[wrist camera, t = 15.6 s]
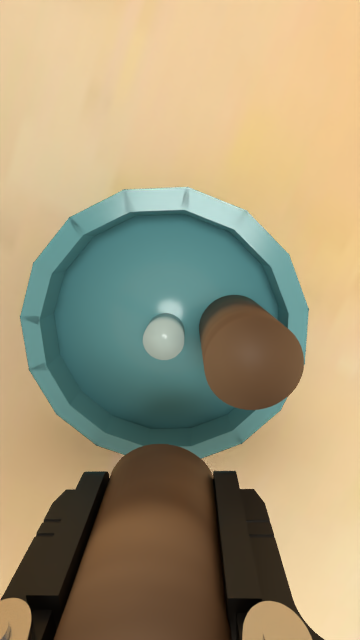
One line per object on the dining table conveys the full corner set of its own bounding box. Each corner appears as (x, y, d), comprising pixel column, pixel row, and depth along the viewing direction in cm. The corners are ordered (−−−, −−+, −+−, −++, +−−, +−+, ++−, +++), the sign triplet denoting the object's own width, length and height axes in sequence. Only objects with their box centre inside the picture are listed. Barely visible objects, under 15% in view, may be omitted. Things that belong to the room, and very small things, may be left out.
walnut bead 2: (199, 361, 16) (205, 411, 11) (198, 296, 15) (203, 319, 10) (266, 359, 16) (301, 409, 11) (268, 293, 15) (307, 315, 10)
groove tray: (-2, 331, 17) (-33, 345, 14) (157, 134, 14) (151, 112, 12) (173, 472, 19) (171, 504, 16) (341, 322, 16) (367, 335, 14)
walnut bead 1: (87, 490, 10) (-10, 721, 5) (157, 423, 9) (121, 618, 4) (166, 549, 10) (145, 810, 6) (238, 489, 10) (285, 730, 5)
